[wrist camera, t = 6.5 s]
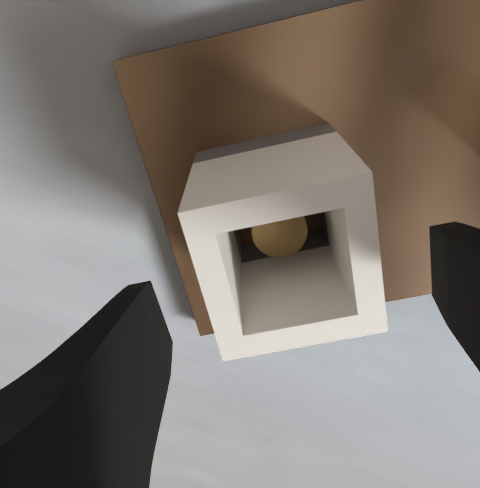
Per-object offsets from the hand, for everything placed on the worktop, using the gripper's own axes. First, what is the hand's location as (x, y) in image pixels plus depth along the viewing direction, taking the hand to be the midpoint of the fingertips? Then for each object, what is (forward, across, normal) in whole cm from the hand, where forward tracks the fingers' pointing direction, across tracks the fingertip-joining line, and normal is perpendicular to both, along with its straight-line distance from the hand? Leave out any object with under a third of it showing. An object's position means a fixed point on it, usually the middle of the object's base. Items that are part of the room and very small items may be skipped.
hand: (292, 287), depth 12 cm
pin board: (+8, -4, 0) cm, 9 cm away
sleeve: (+7, 0, 0) cm, 7 cm away
